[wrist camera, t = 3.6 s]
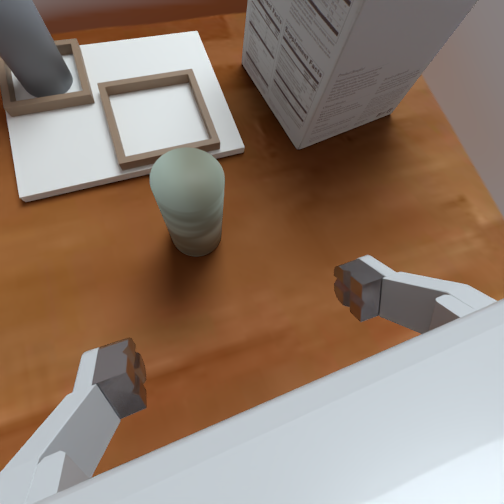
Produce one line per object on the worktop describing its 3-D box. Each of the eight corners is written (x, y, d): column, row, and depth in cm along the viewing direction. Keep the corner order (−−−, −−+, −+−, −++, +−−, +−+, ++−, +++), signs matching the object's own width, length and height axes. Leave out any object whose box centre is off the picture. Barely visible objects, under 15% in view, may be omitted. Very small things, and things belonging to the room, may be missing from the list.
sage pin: (179, 263, 24) (160, 220, 16) (165, 218, 26) (141, 155, 17) (227, 248, 25) (234, 200, 17) (212, 205, 26) (211, 140, 18)
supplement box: (332, 36, 36) (434, -229, 19) (392, 115, 33) (572, -115, 16) (238, 62, 32) (264, -231, 16) (296, 153, 30) (402, -88, 13)
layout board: (25, 202, 24) (-91, 116, 15) (2, 63, 28) (-102, -73, 19) (243, 152, 29) (257, 61, 19) (197, 38, 33) (190, -83, 23)
